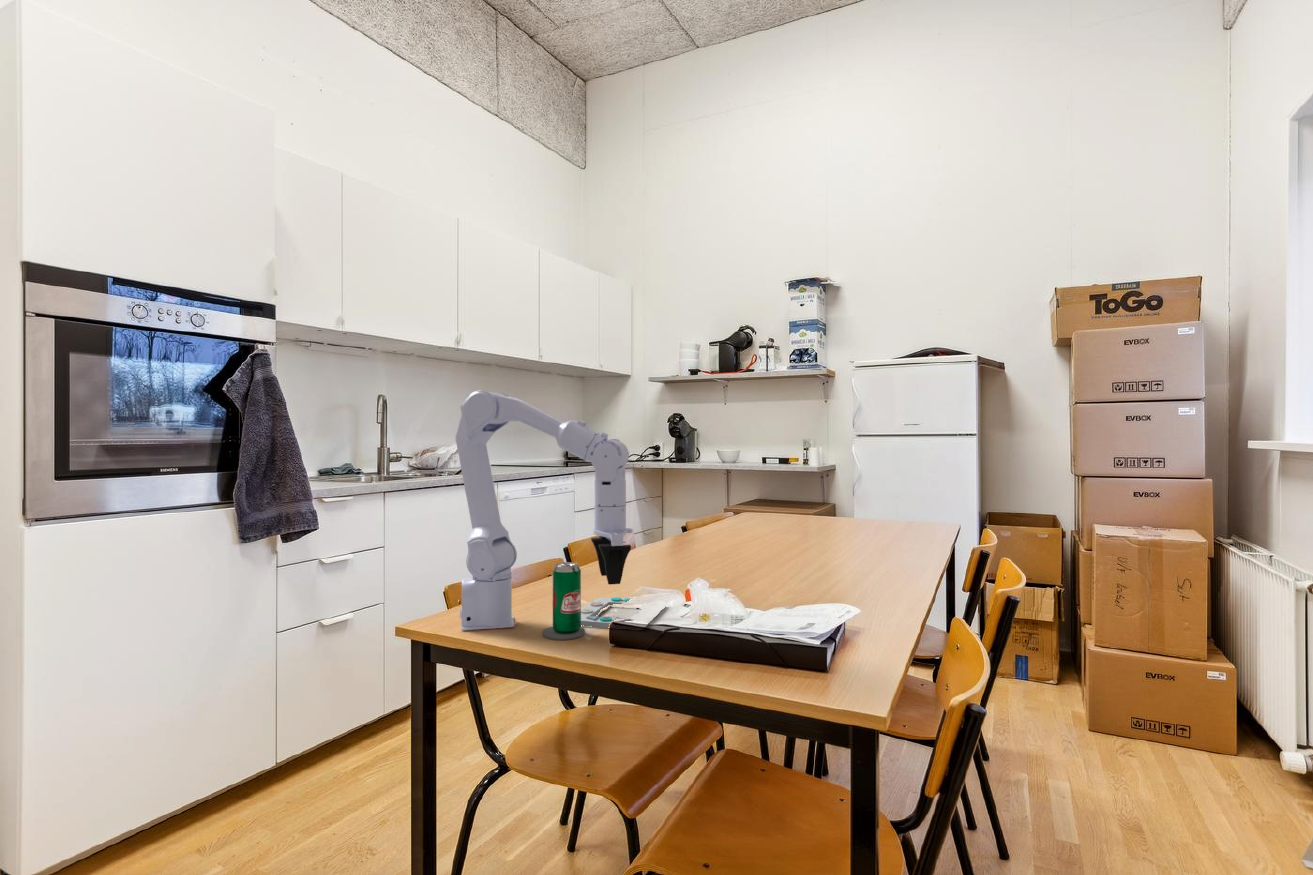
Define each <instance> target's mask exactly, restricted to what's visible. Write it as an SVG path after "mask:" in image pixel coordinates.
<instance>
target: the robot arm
mask: <svg viewBox="0 0 1313 875" xmlns="http://www.w3.org/2000/svg"><path fill="white" fill-rule="evenodd" d="M460 412H461V415H460V419H459V423H458V427H457V431H456V436H455V443H456V447H457V454H458V459H459V464H460V470H461V474H462V481H463V486H464V492H465V495H466V502H467V507H468V513H469V518H470V523H471V528H472V529H471V532H470V534H469V537H468V538H467V547H468V548H467V549H468V550H467V556H466V560H465V561H466V562H465V563H466V568H467V571H468V572H469V573H470V575H471V576H472V577H469V578H462V579H461V608H460V609H459V618H460V619H461V631H474V630H488V629H489V630H490V629H502V628H503V629H504V628H505V629H507V628H514V627H515V620H514V614H513V613H512V611H513V610H512V608H513V607H512V603H513V602H512V599H513V598H512V595H513V594H512V592H513V590H512V589H513V588H512V586H513V585H512V583H513V582H512V576H513V575H512V574H513V573H512V567H513V566H514V565H515V563H516V560H517V559H518V558H517V555H518V553H517V549H516V546H515V544H514V543H513V542H512V541H511V538H510V536H509V531H508V529H506V527H505V526H504V525H503V523H501V522H502V521H501V517H500V511H499V505H498V501H497V495H496V490H495V485H494V478H493V474H492V468H491V464H490V457H489V452H488V446H487V443H488V442H489V441H490V439H491V438H492V437H493V436H494V434H495V433H496V432H497V431H498V430H500V429H501V428H503V427H504V426H505V425H508V423H510V422H520V423H522V424H525V425H527V426H529V427H532V428H533V429H536V430H538V431H540V432H542V433H545V434H547V435H549V436H550V437H554V438H555V440H556V442H557V446H558V447H559V448H560V449H562V450H563V451H566V452H568V453H569V454H572V455H574V456H576V457H578V458H580V459H581V460H584V461H585V462H587V463H591V465H592V467H593V468H594V529H593V534H594V535H596V536H598V537H591V538H590V540H591V542H592V544H593V547H594V549H595V552H596V556H597V561H598V566H599V567H598V568H599V571H600V574H601V576H602V577H606V580H607V584H608V585H620V584H621V582H622V576H623V572H624V568H625V564H626V560H627V559H628V558H627V557H628V555H629V553H630V552H631V549H632V546H631V545H630V544H624V537H625V536H626V535H627V534H632V533H633V529H632V528H631V527H627V508H626V507H627V479H626V467H625V466H627V463H628V461H629V457H630V452H629V450H628V447H627V445H626V444H624V443H623V442H622V441H620V439H618V438H611V439H608V438H609V434H608V433H606V432H605V431H604V432H601V433H600V432H598V431H596V430H595V429H593V428H591V427H588V426H586V424H587V422H586V421H583V420H582V419H577V420H574V419H572V420H568V421H566V422H564V421H561V420H560V419H557V418H556V417H554V416H552V415H550V414H548V413H546V412H545V411H543V410H541V409H539V408H538V407H536V406H534V405H532V404H530V403H528V402H527V401H525V400H522V399H520V398H516V397H513V396H509V395H508V394H507V393H504V392H491V391H487V390H483V389H480V390H475V391H473V392H471V393H470V394H469V395H468V396H467V398H465V400H464V401H463V402H462V403H461V405H460Z"/></svg>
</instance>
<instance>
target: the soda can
mask: <svg viewBox="0 0 1313 875" xmlns="http://www.w3.org/2000/svg"><path fill="white" fill-rule="evenodd" d="M581 609H582V569H581V568H580V566H579V563H577V562H572V561H571V562H570V561H568V562H566V561H564V562H558V563H557V562H556V563H555V564H554V568H553V569H552V626H553V630H554V631H555V632H557V633H560V634H572V633H575V632H578V631H579V629H580V628H581Z"/></svg>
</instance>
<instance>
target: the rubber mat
mask: <svg viewBox="0 0 1313 875" xmlns="http://www.w3.org/2000/svg"><path fill="white" fill-rule="evenodd" d="M585 634H586V630H585V627H581V628H580V629H579V631H578V632H575V633H572V634H560V633H557V632H555V631H554V630H553V625H552V626H549V627H546V628H544V629H543V631H542V636H543V638H545V639H547V640H553V641H569V640H575V639H579V638H583V636H584V635H585Z"/></svg>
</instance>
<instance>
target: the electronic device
mask: <svg viewBox="0 0 1313 875" xmlns="http://www.w3.org/2000/svg"><path fill="white" fill-rule="evenodd" d="M630 599H633V598H630V597H629V598H622V597H611V598H610V597H597V598H595V599H594V600H592V601H591V602H589V603H587V604H586V605H585V606H583V607H581V625H582V626H583V625H584V626H592V627H597V628H596V629H607V630H609V629H608V627H609V624H610V623H611V622H612V621H614V620H616V619H623V618H621V617H619V616H617V617H616V618H613V617H611V616H601V617H600V615H599V616H596V615H598V613H599V612H600V610H601V609H603V608H605V607H607V606H608V605H613V604H622V603H625V602H627V601H629V600H630Z"/></svg>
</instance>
